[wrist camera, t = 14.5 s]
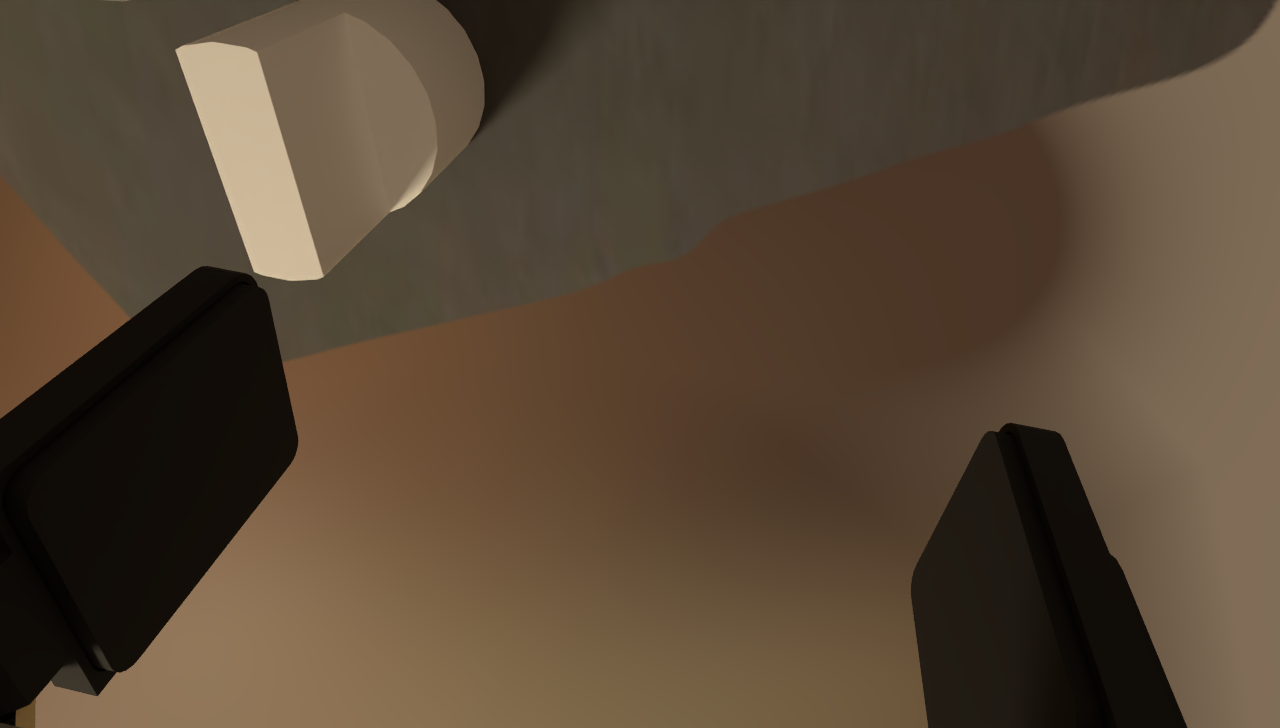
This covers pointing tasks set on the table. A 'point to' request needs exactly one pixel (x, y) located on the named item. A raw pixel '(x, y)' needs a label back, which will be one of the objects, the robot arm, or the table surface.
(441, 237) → the table surface
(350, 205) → the cylinder with rectangular tab
